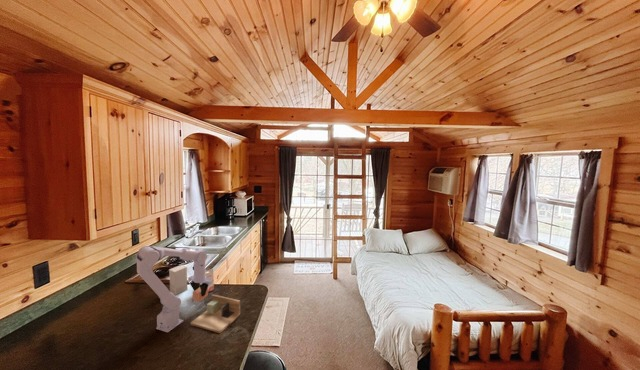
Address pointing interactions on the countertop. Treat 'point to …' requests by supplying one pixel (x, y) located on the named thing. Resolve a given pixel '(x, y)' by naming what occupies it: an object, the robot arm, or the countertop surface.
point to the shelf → (218, 315)
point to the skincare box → (178, 279)
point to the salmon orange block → (199, 295)
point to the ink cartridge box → (211, 277)
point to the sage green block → (213, 306)
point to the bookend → (226, 311)
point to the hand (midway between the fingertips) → (200, 294)
